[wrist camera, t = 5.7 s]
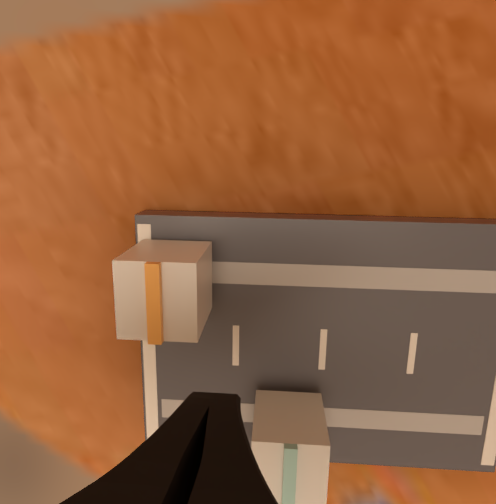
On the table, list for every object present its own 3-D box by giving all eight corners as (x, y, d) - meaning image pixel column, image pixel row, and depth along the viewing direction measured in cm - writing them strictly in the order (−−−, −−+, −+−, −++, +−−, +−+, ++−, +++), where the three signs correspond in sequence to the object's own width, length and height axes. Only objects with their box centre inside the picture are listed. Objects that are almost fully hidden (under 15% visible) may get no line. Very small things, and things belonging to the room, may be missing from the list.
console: (518, 219, 19) (539, 225, 18) (479, 450, 22) (494, 472, 20) (145, 210, 20) (134, 214, 19) (154, 431, 23) (145, 451, 22)
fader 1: (211, 241, 18) (194, 265, 15) (212, 307, 19) (195, 346, 15) (143, 239, 19) (108, 262, 15) (145, 304, 19) (113, 342, 15)
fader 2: (320, 393, 20) (331, 451, 16) (317, 449, 20) (326, 517, 17) (256, 389, 20) (250, 446, 16) (254, 445, 21) (249, 512, 17)
